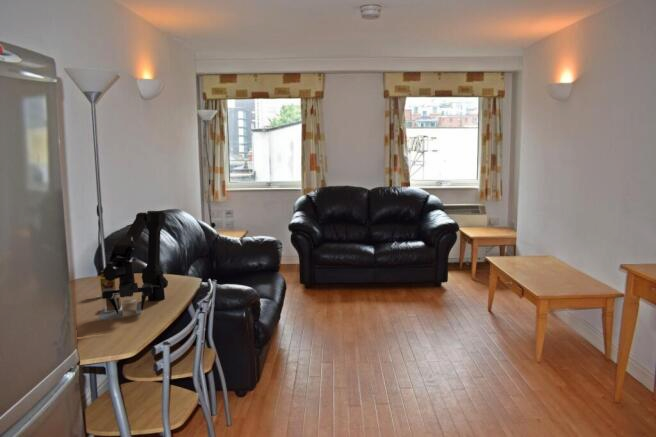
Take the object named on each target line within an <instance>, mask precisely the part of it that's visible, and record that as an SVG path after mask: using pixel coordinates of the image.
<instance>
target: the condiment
mask: <svg viewBox="0 0 656 437" xmlns="http://www.w3.org/2000/svg"><path fill="white" fill-rule="evenodd" d="M103 270H104V269H103ZM103 270H100V290H101V293H102V292H103V290H104V289H107V288H114V290H117V288H116V287H117V286H116V279H115V280H112V281H108V280H106V279H105V278H104V276H103ZM119 295H120V294H119ZM95 297H96V298H100V299H101V298H102V294H99V295H97V296H95Z"/></svg>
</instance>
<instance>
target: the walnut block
mask: <svg viewBox="0 0 656 437" xmlns="http://www.w3.org/2000/svg"><path fill="white" fill-rule="evenodd" d="M116 300H117V305H118V310H120V308H121V305H122V302H121V301H122V300H121V297H120V295H116ZM105 305H106V306H105V307H107V311H112V310H115V308H114V306H113V305H112V303H111V302H110V301H109V300H106V299H105Z"/></svg>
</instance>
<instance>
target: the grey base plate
mask: <svg viewBox="0 0 656 437" xmlns="http://www.w3.org/2000/svg"><path fill="white" fill-rule="evenodd" d="M136 304H137V314H136V315H131V316H123V311H122V304H121V308H120V310H118V314H117V312H116V310H112V311H107V306H102V307H101V310H100V313H99V315H98V317H97V319H96V321H98V322H99V321H105V320H106V321H107V320H114V319H115V320H116V319H121V318H129V317H139V316H141V312H142V311H141V302H136Z"/></svg>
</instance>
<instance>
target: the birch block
mask: <svg viewBox="0 0 656 437" xmlns="http://www.w3.org/2000/svg"><path fill="white" fill-rule="evenodd" d="M136 303H137V299H128V300H127V299H125V300H122V302H121V305H122V311H123V316H131V315H136V314H137V304H136Z"/></svg>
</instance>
